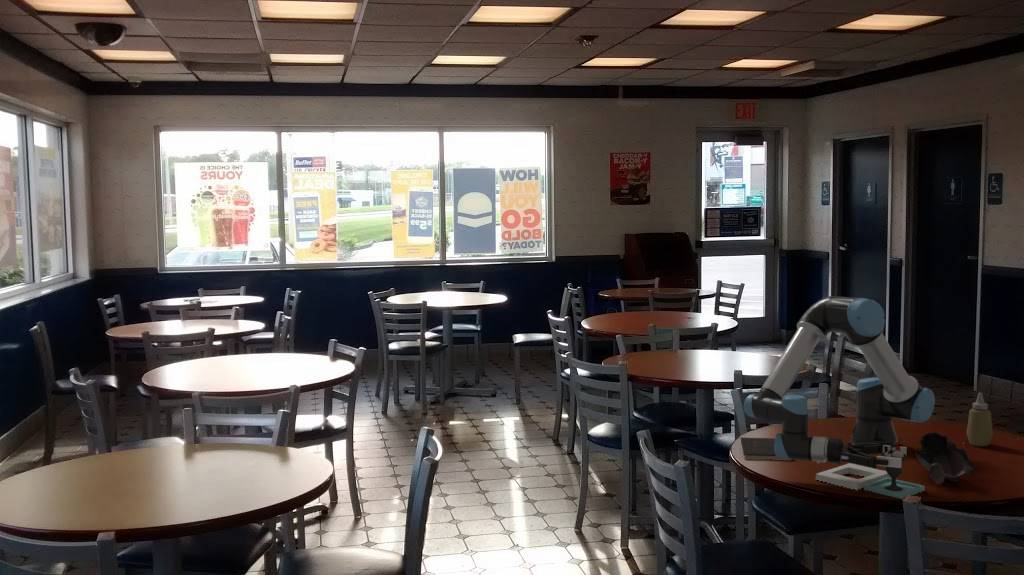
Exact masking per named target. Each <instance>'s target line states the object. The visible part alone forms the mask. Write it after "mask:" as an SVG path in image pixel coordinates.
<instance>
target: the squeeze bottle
mask: <svg viewBox="0 0 1024 575" xmlns="http://www.w3.org/2000/svg"><path fill="white" fill-rule="evenodd" d="M988 408H989V404H988V403H986V402H985V400H984V395H983V392H978V393H977V397H976V400H975V402H973V403H972V408H971V409H970V410H969V413H968V422H967V427H966V435H967V439H968V442H969V444H970V445H971V446H976V447H988V446H989V445H990V444H991V441H992V438H993V436H994V435H993V424H992V422H993V421H992V413H991V410H989V409H988Z"/></svg>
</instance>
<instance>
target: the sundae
mask: <svg viewBox="0 0 1024 575" xmlns="http://www.w3.org/2000/svg"><path fill="white" fill-rule="evenodd" d="M902 441H903V440H902V439H901V438H900V439H899V440H898V441H897V443H895V444H894V445H891V446H889V447H887V446H884V450H885V452H884V453H881V455H882V456H884V457H894V458H902V466H904V464H903V463H904V460H905V459H906V458H907V456H906V454H903V452H902V451H901V450H900V449H901V448H900V447H901V446H900V447H899V443H900V442H902ZM902 469H903V467H902V468H894V467H885V471H887V473H888V475H890V476H891V479H892V483H891V485H890V486H886V487H885V489H886V490H890V491H902V490H903V488H901V487H899V486H897V485H896V480H897V478H898V477H900V475H901V474H902V471H903V470H902Z"/></svg>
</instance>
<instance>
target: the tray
mask: <svg viewBox="0 0 1024 575" xmlns="http://www.w3.org/2000/svg"><path fill="white" fill-rule="evenodd" d="M891 483H892V477H891V478H887V477H886V478H883V479H881V480H878V481H875V482H872V483H869V484H866V485H864V488H863V490H864V491H867V490H868V491H867V492H871V491H872V492H871V493H874V494H879V495H882V496H883V495H884V496H889V497H892V498H896V499H900V500H904V499H905V498H904V497H905V496H908V495H912V496H914V495H917V494H920V493H923V492H925V491H924V490H925V489H926V488H925V487H926V486H925V485H922V484H917V483H914V482H913V483H912V482H908V481H905V480H899V479H896V485H897V486H899V487H901V488H903V490H902V491H890V490H886V489H885V487H886V486H890V485H891ZM922 491H923V492H922ZM919 492H920V493H919ZM903 498H904V499H903Z"/></svg>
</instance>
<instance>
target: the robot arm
mask: <svg viewBox="0 0 1024 575" xmlns="http://www.w3.org/2000/svg"><path fill="white" fill-rule="evenodd" d="M884 311H885V310H884V309H883V307H882V306H881V305H880V303H878V302H877V301H875V300H874V299H869V298H865V297H852V296H851V297H850V296H849V297H847V296H837V295H830V296H825V297H823V298H821V299H819V300H818V301H817V302H815V303H813V304H812V305H810V307H809V308H807V310H806V311H805V312H804V313H803V315H802V316H801V317H800V318H799V320H798V321H797V323H796V331H795V333H794V335H793V336H792V337H791V339H790V341H789V342H788V344H787V346H786V347H785V349H784V351H783V352H782V354H781V356H780V357H779V359H778V361H777V362H776V364H775V365H774V367H773V369H772V370H771V372H770V374H769V375H768V376H767V378H766V380H765V381H764V383H763V385H762V386H761V388H760V389H759V391H758V393H751V394H749V395H748V396H747V397H746V398H745V399H744V402H743V410H744V412H745V414H746V415H747V416H748V417H750V418H754V419H755V420H756V419H757V420H761V421H766V422H771V423H775V424H779V425H781V432H779V433H776V435H775V437H774V438H775V443H774V451H775V454H776V456H777V457H780V458H787V459H791V460H792V459H794V461H795V460H796V461H798V460H799V461H809V462H816V464H820V463H826V462H827V463H829V464H835V465H836V464H837V465H841V464H842V462H843V463H844V462H845V463H851V464H856V465H860V466H865V467H869V468H874V469H877V467H885V468H886V467H894V468H902V469H903V465H902V458H894V457H884V456H883V455H882V456H881V455H879V454H883V453H884V452H885V450H884V446H887V447H889V446H891V445H894V444H895V443H897V442H898V436H897V433H896V429H895V427H894V424H893V419H899V420H903V421H907V422H911V423H924V422H926V421H928V420H929V419H930V417H931V415H932V414H933V412H934V409H935V404H936V399H935V394H934V392H933V391H932V389H930V388H928V387H922V386H921V385H920V383H919V381H918V380H917V379H916V378H915V377H914V376H912V375H909V374H908V372H907V371H906V370H905V368H904V366H903V364H902V362H900V360H899V358H898V356H897V355H896V353H895V351H894V350H893V348H892V347H891V345H890V343H889V342H888V340H887V339H886V337H885V335H884V333H883V332H884V329H885V328H884V327H885V323H886V319H885V312H884ZM829 333H836V334H837V333H838V334H843V335H844V336H845V337H846V339H847V341H848V342H849V343H850V344H851V345H852V346H855V347H857V348H859V351H860V352H861V353H862V355H863V357H864V359H865V361H867V363H868V365H869V366H870V367H871V370H872V371H873V373H875V376H876V377H874V376H873V377H865V378H861V379H859V380H858V381H857V383H856V391H855V392H856V420H855V424H854V427H853V429H852V432H851V435H850V439H851V440H850V442H847V445H844V442H843V439H842V438H837V437H829V438H828V437H826V436H814V435H808V433H809V432H808V431H809V428H808V427H809V422H808V421H809V408H808V399H807V397H805V396H804V395H800V394H787V393H788V392H789V390H790V388H791V387H792V386H793V384H794V382H795V380H796V378H797V377H798V375H799V374H800V372H801V370H802V369H803V368H804V365H805V364H806V363H807V361H808V360H809V358H810V356H811V354H812V353H813V351H814V349H815V348H816V346H817V344H818V343H819V342H820V341H824V339H825V338H826V336H827V335H828V334H829ZM897 444H898V443H897ZM898 446H899V445H898ZM899 447H900V448H901V449H900V450H901V451H902V452H903V454H906V457H907V454H908V453H907V449H908V448H907V446H899ZM876 454H877V456H875V455H876ZM873 455H874V456H873ZM791 460H790V461H791Z"/></svg>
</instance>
